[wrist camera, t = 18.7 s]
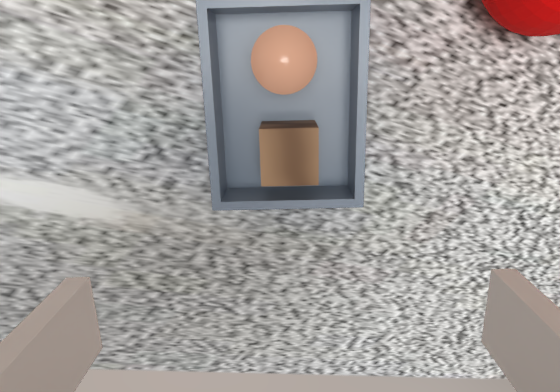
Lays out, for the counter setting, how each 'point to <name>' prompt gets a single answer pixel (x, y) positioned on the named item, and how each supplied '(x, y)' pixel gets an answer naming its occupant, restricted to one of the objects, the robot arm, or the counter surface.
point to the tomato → (526, 16)
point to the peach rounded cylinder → (284, 59)
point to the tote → (284, 100)
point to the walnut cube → (289, 153)
